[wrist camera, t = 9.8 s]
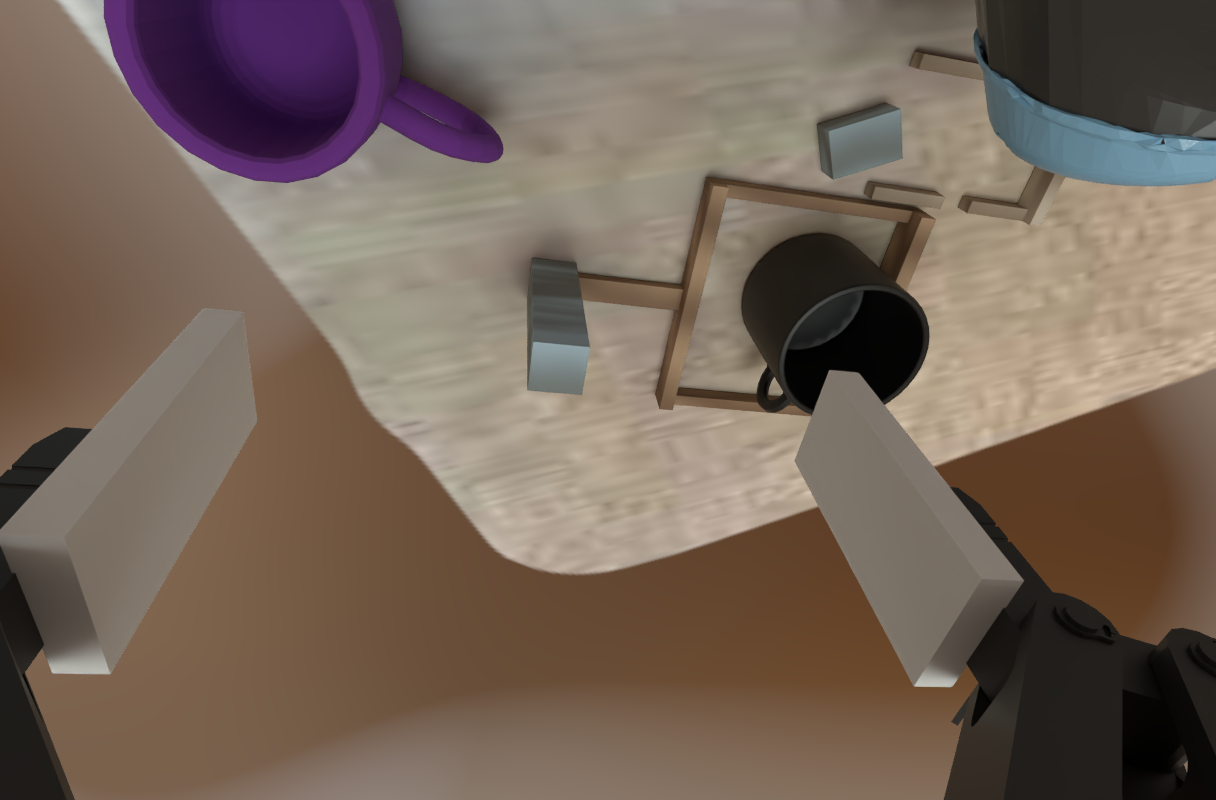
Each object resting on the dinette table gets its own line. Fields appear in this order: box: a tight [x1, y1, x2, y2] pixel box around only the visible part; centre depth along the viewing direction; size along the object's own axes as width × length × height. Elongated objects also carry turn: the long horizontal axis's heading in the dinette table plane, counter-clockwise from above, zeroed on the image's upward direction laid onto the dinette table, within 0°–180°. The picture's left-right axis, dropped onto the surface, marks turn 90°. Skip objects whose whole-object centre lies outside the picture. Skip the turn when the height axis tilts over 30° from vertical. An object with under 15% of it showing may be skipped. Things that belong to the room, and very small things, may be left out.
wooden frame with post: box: [527, 177, 936, 416], centre depth 44 cm, size 17×26×12 cm, turn 81°
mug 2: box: [742, 234, 929, 415], centre depth 46 cm, size 9×12×9 cm
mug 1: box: [104, 0, 503, 183], centre depth 35 cm, size 17×11×10 cm, turn 62°
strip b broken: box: [817, 52, 1065, 226], centre depth 44 cm, size 9×17×2 cm, turn 81°
